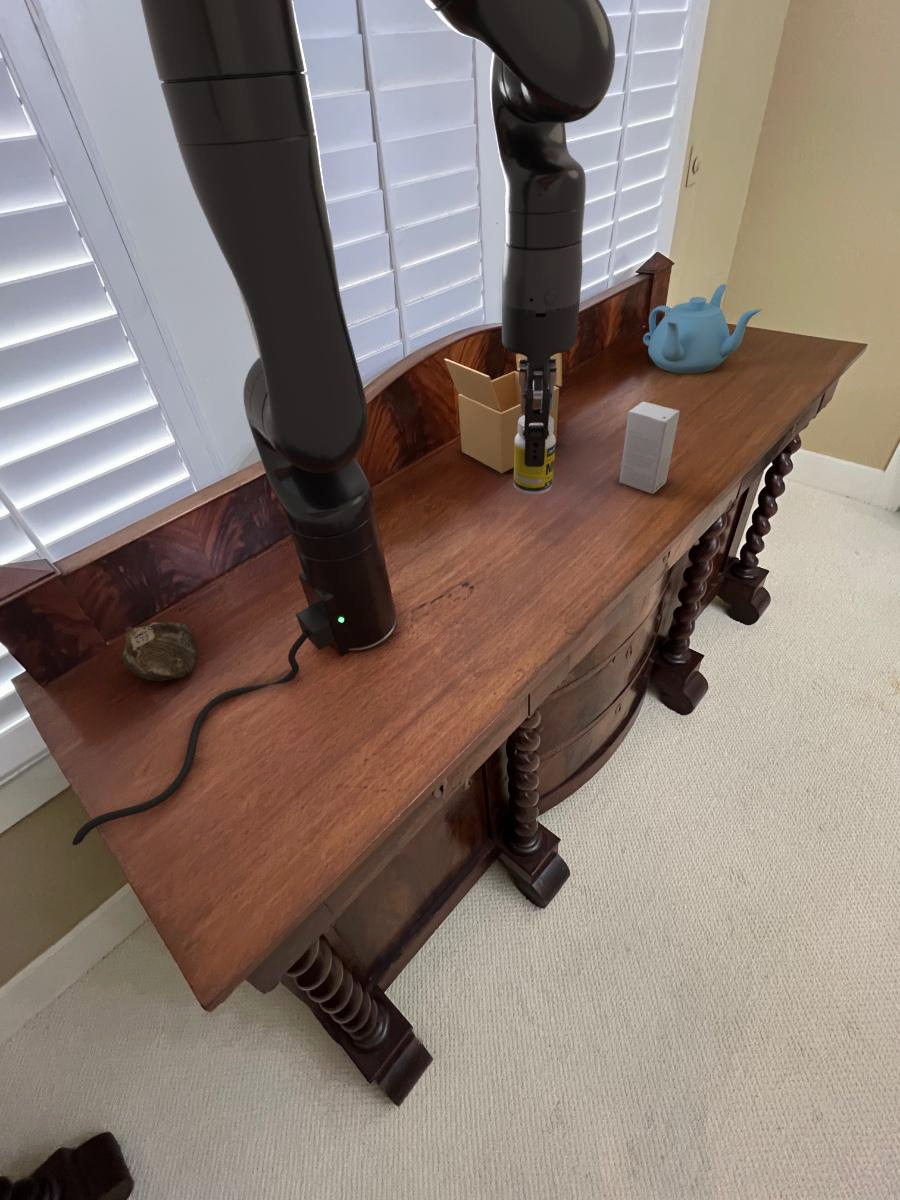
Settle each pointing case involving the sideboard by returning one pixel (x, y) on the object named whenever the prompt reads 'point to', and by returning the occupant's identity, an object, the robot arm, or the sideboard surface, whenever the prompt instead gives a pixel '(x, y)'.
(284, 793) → the sideboard surface
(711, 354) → the teapot
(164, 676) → the fossilized seashell
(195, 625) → the sideboard surface
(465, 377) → the flap
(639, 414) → the cosmetic box
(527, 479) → the supplement bottle
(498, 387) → the carton
